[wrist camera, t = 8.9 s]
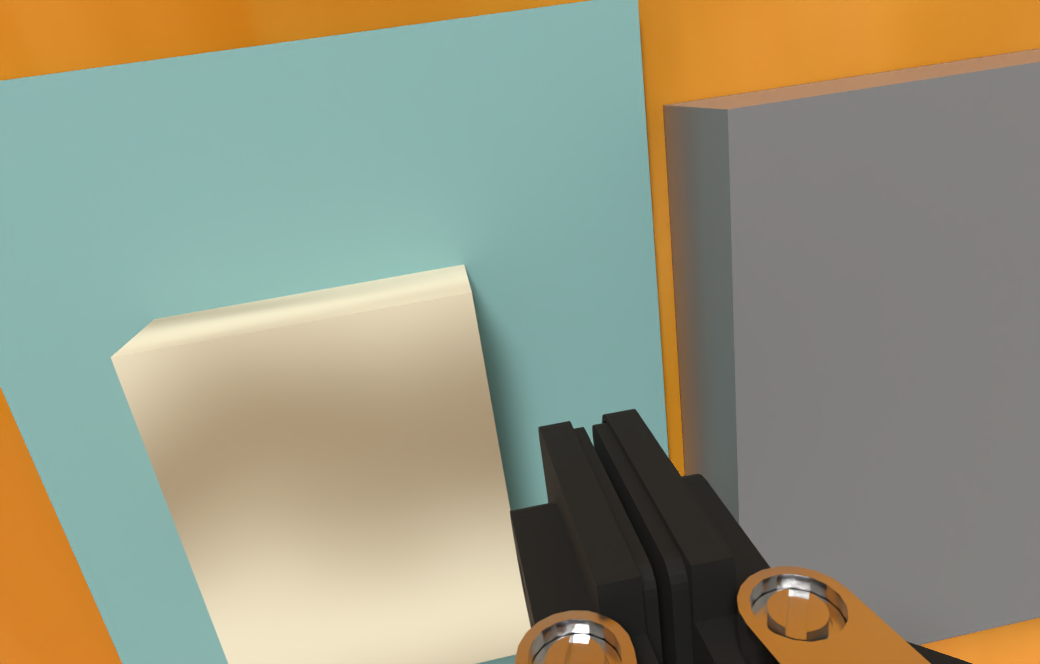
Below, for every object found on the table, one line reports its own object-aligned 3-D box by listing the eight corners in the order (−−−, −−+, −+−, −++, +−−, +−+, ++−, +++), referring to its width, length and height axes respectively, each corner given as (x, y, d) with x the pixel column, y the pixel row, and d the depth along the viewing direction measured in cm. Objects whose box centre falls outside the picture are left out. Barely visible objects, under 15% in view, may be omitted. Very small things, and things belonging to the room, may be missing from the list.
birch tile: (472, 292, 12) (463, 264, 14) (110, 357, 11) (153, 318, 13) (535, 650, 15) (521, 586, 16) (247, 715, 14) (267, 641, 16)
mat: (-110, 97, 12) (-127, 98, 11) (631, -4, 13) (637, -6, 12) (179, 765, 17) (174, 780, 17) (677, 654, 18) (682, 665, 18)
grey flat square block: (663, 105, 14) (727, 108, 11) (1166, 29, 14) (1346, 15, 12) (691, 590, 18) (743, 685, 15) (1080, 507, 19) (1197, 581, 16)
